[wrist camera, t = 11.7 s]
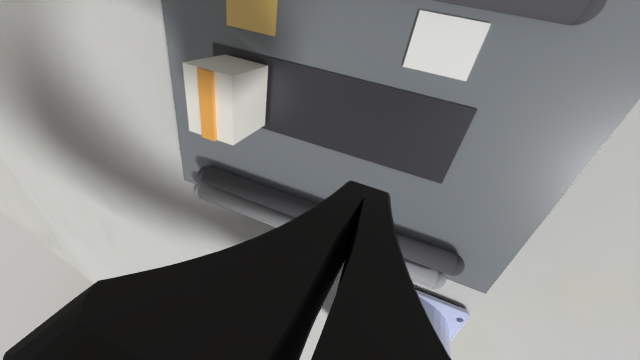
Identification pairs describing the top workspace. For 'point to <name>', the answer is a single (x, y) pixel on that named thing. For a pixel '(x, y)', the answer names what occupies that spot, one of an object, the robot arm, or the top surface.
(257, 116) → the white orange striped block
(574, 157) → the panel
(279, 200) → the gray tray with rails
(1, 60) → the top surface
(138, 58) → the top surface
